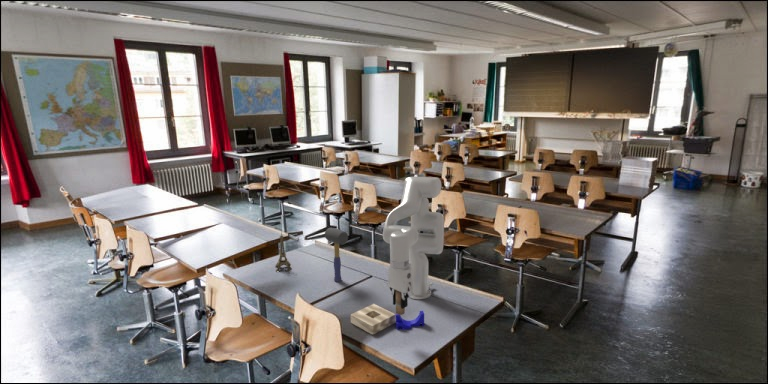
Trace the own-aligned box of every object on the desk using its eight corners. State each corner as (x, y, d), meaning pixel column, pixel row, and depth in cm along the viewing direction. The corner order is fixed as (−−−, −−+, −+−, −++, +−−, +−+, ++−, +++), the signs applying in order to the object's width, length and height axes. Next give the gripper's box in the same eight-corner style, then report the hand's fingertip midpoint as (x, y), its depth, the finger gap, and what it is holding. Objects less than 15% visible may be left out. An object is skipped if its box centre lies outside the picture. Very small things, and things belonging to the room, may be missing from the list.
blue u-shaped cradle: (396, 329, 178) (396, 317, 177) (395, 324, 182) (395, 311, 181) (424, 328, 179) (424, 315, 177) (423, 323, 183) (423, 310, 182)
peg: (400, 309, 171) (399, 286, 168) (406, 312, 168) (406, 289, 166) (393, 312, 168) (393, 289, 166) (400, 315, 165) (400, 292, 163)
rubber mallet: (350, 283, 224) (349, 229, 218) (339, 287, 219) (338, 233, 213) (335, 277, 233) (334, 225, 227) (325, 281, 228) (323, 228, 221)
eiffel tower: (273, 267, 248) (271, 227, 243) (292, 265, 251) (289, 225, 246) (274, 274, 238) (272, 232, 233) (293, 271, 241) (291, 230, 236)
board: (373, 311, 193) (373, 303, 192) (395, 322, 184) (395, 314, 183) (350, 322, 184) (350, 314, 183) (372, 334, 174) (372, 326, 173)
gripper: (422, 265, 160) (422, 309, 164) (391, 254, 171) (391, 295, 176) (409, 272, 155) (409, 316, 159) (378, 260, 166) (379, 301, 171)
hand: (400, 305), depth 167 cm, fingers closed on peg, 3 cm apart
